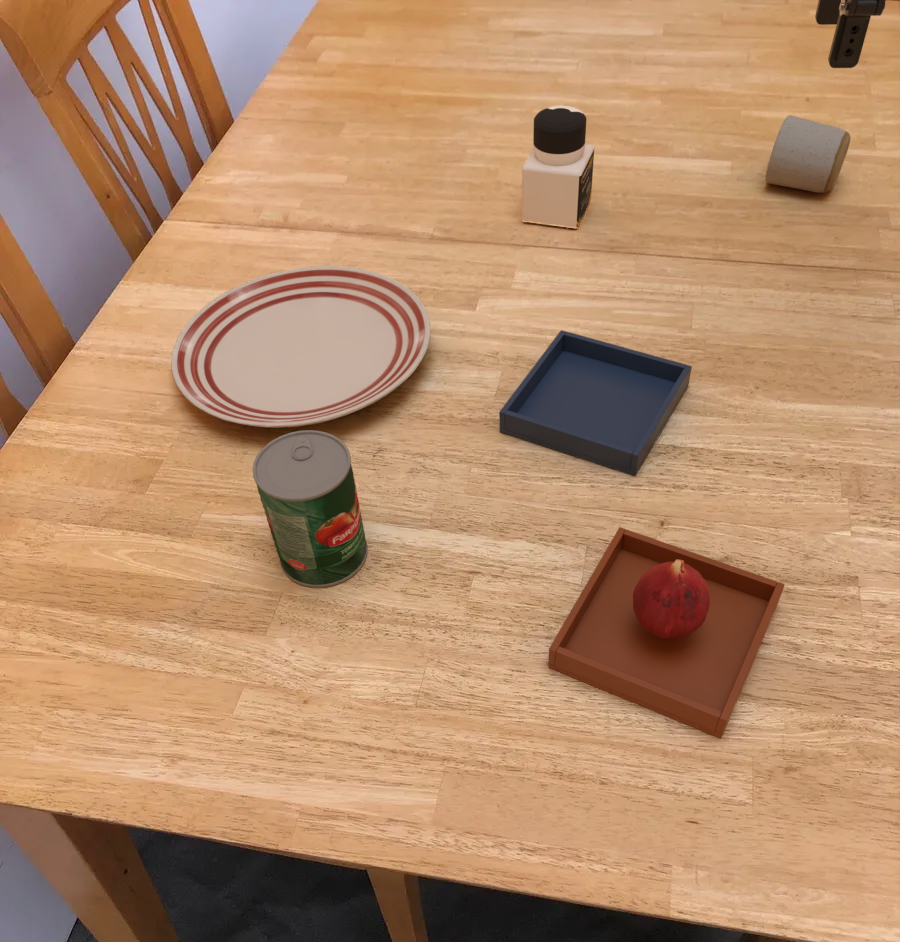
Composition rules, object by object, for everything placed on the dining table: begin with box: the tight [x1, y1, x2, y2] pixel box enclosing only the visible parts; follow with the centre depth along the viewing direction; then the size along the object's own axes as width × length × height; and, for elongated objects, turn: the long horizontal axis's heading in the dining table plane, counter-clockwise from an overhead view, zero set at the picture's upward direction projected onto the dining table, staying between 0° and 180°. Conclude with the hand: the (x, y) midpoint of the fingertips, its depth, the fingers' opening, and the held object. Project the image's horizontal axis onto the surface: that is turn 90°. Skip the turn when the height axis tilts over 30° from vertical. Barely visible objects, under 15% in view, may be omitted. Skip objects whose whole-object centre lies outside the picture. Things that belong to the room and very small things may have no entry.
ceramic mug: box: [765, 114, 851, 193], centre depth 113 cm, size 11×8×8 cm
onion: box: [633, 559, 710, 640], centre depth 71 cm, size 6×6×8 cm
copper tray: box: [547, 526, 785, 739], centre depth 74 cm, size 14×14×3 cm
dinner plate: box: [170, 265, 432, 429], centre depth 98 cm, size 28×27×3 cm
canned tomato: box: [252, 429, 369, 589], centre depth 78 cm, size 8×8×11 cm
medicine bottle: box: [521, 105, 595, 228], centre depth 110 cm, size 7×7×12 cm
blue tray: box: [498, 329, 693, 477], centre depth 91 cm, size 14×14×3 cm
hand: (834, 43), depth 76 cm, fingers open, 8 cm apart
